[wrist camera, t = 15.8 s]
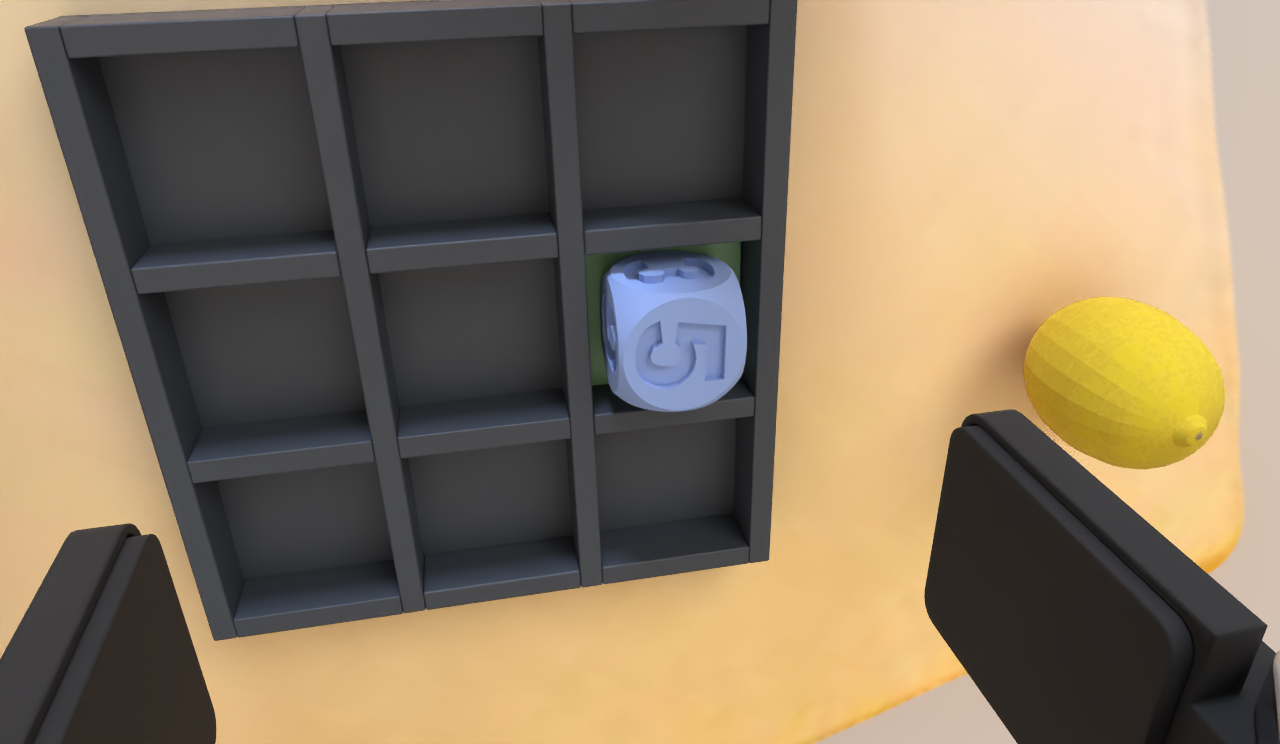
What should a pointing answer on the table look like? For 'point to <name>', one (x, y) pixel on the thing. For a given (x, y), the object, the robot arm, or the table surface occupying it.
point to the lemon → (1124, 382)
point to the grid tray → (428, 285)
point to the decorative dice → (672, 330)
